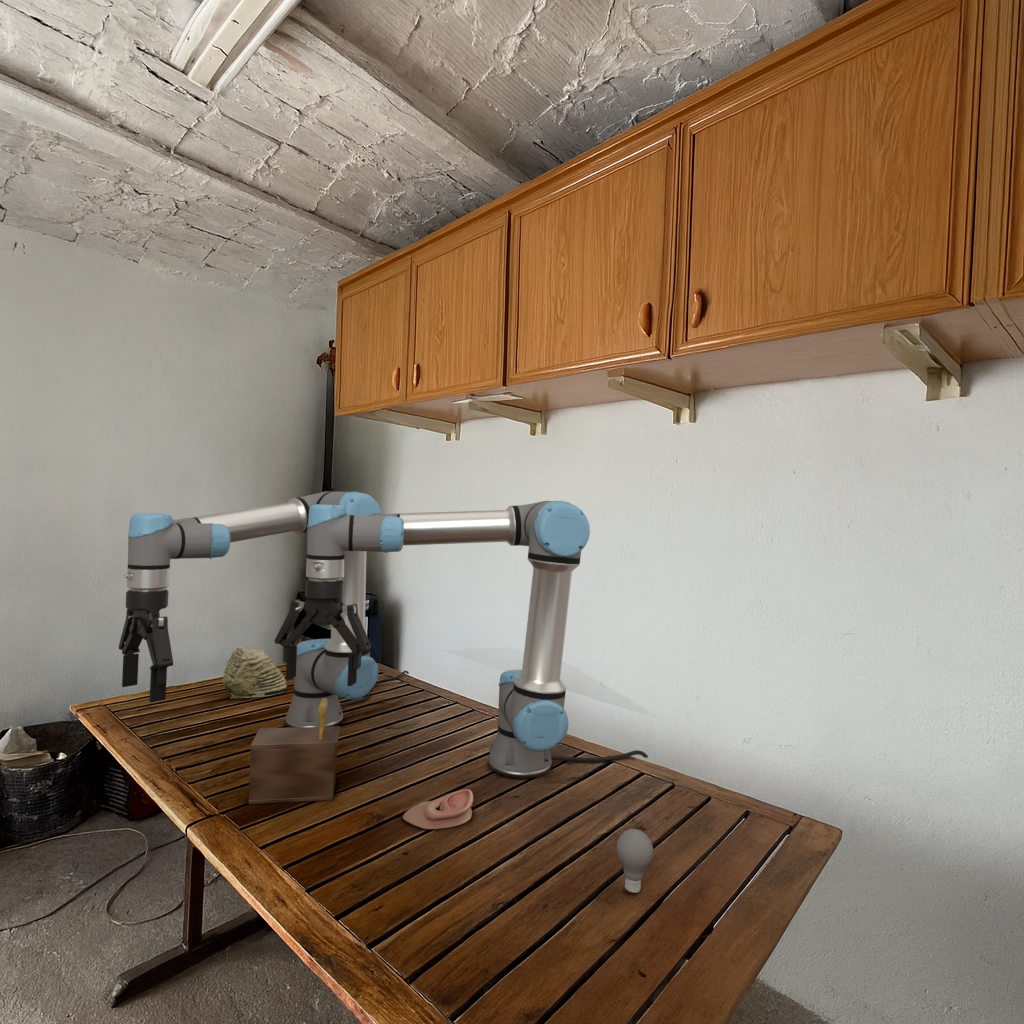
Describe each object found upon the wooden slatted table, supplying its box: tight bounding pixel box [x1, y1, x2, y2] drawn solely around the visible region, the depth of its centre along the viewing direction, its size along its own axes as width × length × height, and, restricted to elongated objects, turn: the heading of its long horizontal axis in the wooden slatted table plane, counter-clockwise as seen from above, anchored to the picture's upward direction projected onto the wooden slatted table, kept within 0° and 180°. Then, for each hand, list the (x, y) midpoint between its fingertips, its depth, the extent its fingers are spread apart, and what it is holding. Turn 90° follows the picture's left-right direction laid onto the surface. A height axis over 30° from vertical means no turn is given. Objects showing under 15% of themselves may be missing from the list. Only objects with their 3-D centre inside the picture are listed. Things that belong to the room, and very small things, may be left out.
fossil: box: [222, 646, 288, 699], centre depth 198 cm, size 9×18×15 cm, turn 132°
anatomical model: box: [402, 788, 474, 830], centre depth 128 cm, size 13×4×12 cm
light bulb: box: [615, 828, 654, 894], centre depth 106 cm, size 6×6×10 cm
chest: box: [248, 746, 338, 805], centre depth 135 cm, size 17×9×11 cm, turn 102°
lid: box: [250, 698, 341, 750], centre depth 135 cm, size 17×9×8 cm, turn 102°
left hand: (143, 693), depth 129 cm, fingers open, 13 cm apart
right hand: (321, 681), depth 131 cm, fingers open, 13 cm apart
